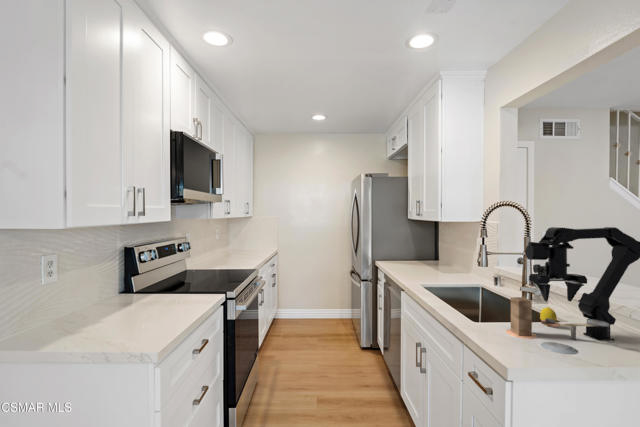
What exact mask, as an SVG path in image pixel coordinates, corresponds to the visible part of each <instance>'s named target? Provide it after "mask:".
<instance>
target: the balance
mask: <svg viewBox="0 0 640 427" xmlns="http://www.w3.org/2000/svg"><path fill="white" fill-rule="evenodd" d="M540 320H541V319H540ZM540 324H541V325H544V326H547V327H548V326H549V327H553V328H554V327H556V328H558V327H570V340H572V341H577V327H586V326H603V327H607V326H609V323H607V322H604V321H600V320H591V319H590V320H587V319H586V323H560V322H558V321H556V322H555V320H554V319H548V318H547V319H545V320H541V321H540Z"/></svg>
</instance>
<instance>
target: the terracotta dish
mask: <svg viewBox="0 0 640 427" xmlns="http://www.w3.org/2000/svg"><path fill="white" fill-rule="evenodd" d="M505 333H506V334H507V335H509V336H511V337H515V338H519V339H525V340H526V339H527V340H534V339H537V338H538V335H537V334H535V333H534V332H532V336H518V335H516V334H515V333H513V332H511V328H509V329H506V330H505Z"/></svg>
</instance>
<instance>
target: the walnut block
mask: <svg viewBox="0 0 640 427" xmlns="http://www.w3.org/2000/svg"><path fill="white" fill-rule="evenodd" d="M532 303H533V302H532V300H531V299H528V298H526V297H521V296H520V297H519V296H518V297H517V296H513V297H512V296H511V297H510V329H511V332H513V333H515V334H516V335H518V336H532V333H533V330H532V329H533V322H532V320H533V318H532V317H533V316H532V314H533V312H532V310H533V309H532V308H533V306H532V305H533V304H532Z"/></svg>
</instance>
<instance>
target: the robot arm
mask: <svg viewBox="0 0 640 427" xmlns="http://www.w3.org/2000/svg"><path fill="white" fill-rule="evenodd" d="M583 239H584V240H586V239H590V240H591V239H605V240H606V242H607V244H608V245H610V247H612V250H611V260H610V262H609V263H608V265H607V267H606V269H605V270H604V272H603V274H602V275H601V278H599V280H598V282H597V284H596V285H595V287H594V289H593V290H592V292H590V293H587V292H583V293H582V294H581V297H580V298H579V300H577V302H579V303H578V305H577V306H578V309H579V311H580V312H581V313H582V315H583V317H584V318H586V321H587V320H590V319H591V320H600V321H604V322H607V323H609V326H607V327H603V326H585V332H583V333H582V334H583V335H584V336H587V337H589V338H591V339H594V340H598V341H615V338H613V337H611V325H615V322H616V321H617V319H616V318H615V317H614V315H612V314H611V313H610V311H609V310H610V308H611V306H610V298H611V296H612V295H613V293H614V291H615V289H616V288H617V286H618V284H619V283H620V281H621V280H622V278H623V276H624V274H625V272H626V271H627V269H629V268H628V267H629V266H630V265H632V264H634V263H635V262H636V261H639V259H640V241H639V240H636V239H635V238H634V237H633V236H631V235H628V234H626V233H625V232H623V231H622V230H620V229H619V228H617V227H615V226H614V227H613V226H609V227H608V226H606V227H600V228H599V227H595V228H594V227H593V228H568V227H555V226H551V227H549V228H547V229H546V230H545V233H544V235H543V236H542V238H541V239H540V240H539V241H538V242H536V241H528V245H527V246H526V248H525V250H524V253H525V257H526V258H527V260H531V261H533V260H534V261H545V263H544V265H541V264H533V265H532V271H533V273H530V274H529V276H528V281H530V282H532V284H533V285H534V284H535V285H536V286H537V287H538V289H539V291H540V294H541V295H542V299H543V300H544V302H546V303H547V302H548V301H549V297H550V296H549V295H550V290H551V284H549V283H550V282H564V283H565V286H566V296H567V297H566V298H567V302H572V300H573V299H574V298H575V296H576V295H577V293H578V292H579V290H581V288H582V287H584V286H585V284H586V285H587V284H588V278H587V277H586V275H584V274H578V273H568V267H569V268H570V267H571V263H568V250H570V249H571V250H573V249H574V246H573V245H571V243H570V242H574V241H576V240H583ZM546 260H547V261H546Z"/></svg>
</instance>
